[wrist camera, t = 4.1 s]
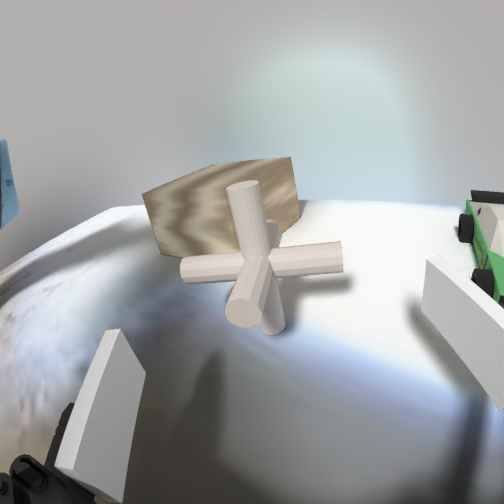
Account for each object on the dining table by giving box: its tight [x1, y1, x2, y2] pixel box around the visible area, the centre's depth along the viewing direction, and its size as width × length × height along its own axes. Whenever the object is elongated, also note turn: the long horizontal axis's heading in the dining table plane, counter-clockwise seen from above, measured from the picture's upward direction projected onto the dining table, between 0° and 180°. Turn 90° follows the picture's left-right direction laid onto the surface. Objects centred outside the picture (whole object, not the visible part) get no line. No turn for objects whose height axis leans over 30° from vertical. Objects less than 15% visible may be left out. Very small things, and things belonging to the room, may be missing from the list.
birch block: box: [142, 157, 301, 258], centre depth 36 cm, size 13×13×8 cm
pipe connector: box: [180, 180, 343, 335], centre depth 18 cm, size 10×10×10 cm
